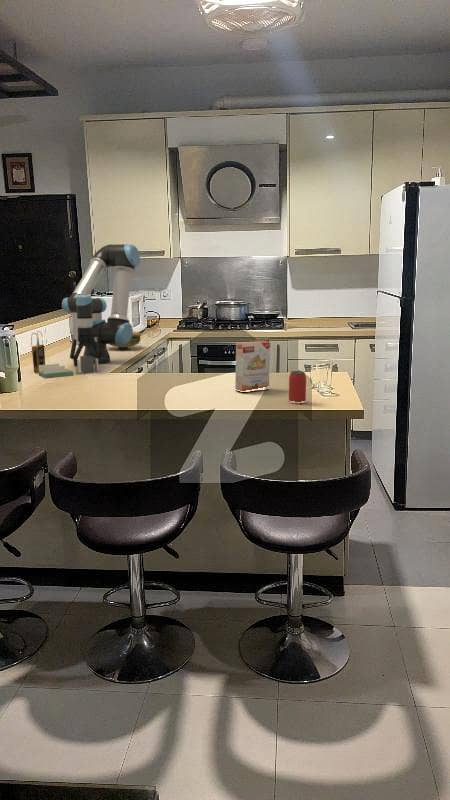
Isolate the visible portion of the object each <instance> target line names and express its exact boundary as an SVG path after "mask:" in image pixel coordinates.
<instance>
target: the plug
mask: <svg viewBox="0 0 450 800" xmlns="http://www.w3.org/2000/svg"><path fill="white" fill-rule="evenodd" d="M79 365H80V373H83V374H92V373H95V364H94V358H93V356H90V355H89V356H83V355H79Z"/></svg>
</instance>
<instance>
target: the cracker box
mask: <svg viewBox="0 0 450 800" xmlns="http://www.w3.org/2000/svg"><path fill="white" fill-rule="evenodd" d="M270 356H271V342H269V341H266V340H259V341H243V342H240V341H239V342H236V343H235V389H237V390H240V391H246V390H252V389H258V388H263V387H267V386H269V387H270V363H271V362H270V361H271V360H270V359H271V358H270ZM235 389H234V390H235Z"/></svg>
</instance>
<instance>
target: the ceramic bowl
mask: <svg viewBox="0 0 450 800" xmlns="http://www.w3.org/2000/svg"><path fill="white" fill-rule="evenodd" d="M142 335H143V333H141V332H134V331H133V334H132V338H131V340H130V341H129V342H128V343H127V344H124V345H117V344H108V345H110V346H112V347H115V348H116V350H117V349H120V350H119V351H127V349H129V350H130V348H131V347H134V346H137V345H138V344H139V343H140V342H141V336H142Z"/></svg>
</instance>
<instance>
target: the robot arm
mask: <svg viewBox="0 0 450 800" xmlns="http://www.w3.org/2000/svg"><path fill="white" fill-rule="evenodd" d="M140 262H141V256H140V252H139V250H138V248H137V246H136V245H134V244H128V243H124V244H123V243H122V244H121V243H119V244H117V243H116V244H113V243H112V244H106V245H104V246H102V247H101V248H99V249H98V250H97V251H96V252H95V253H94V254H93V256H92V257H91V259H90V260H89V265H88V267H87V269H86V270H85V273H84V274H83V276H82V277H81V279H80V281H79V282H78V284H77V285H76V287H75V289H74V290H73V292H72V294H71V295H70V296H68V297H65V298H63V299H62V302H61V309H62V310H63V311H64V312H65V313H69V314H72V313H77V326H78V338H77V339H74V338H72V339H71V347H70V348H71V350H70V353H69V359H71V360H73V366H74V367H75V373H77V374H80V373H81V371H80V359H78V358H80V354H81V352H82V350H83V348H84V351H83V355H82V356H89V355H90V356H93V358H94V372H95V371H96V372H99V371H100V370H99V365H104V364H109V363H111V356H110V353H109V352H108V347H107V345H109V344H117V345H124V344H127V343H128V342H129V341H130V340H131V338H132V334H133V332H134V330H133V329H134V328H133V326H132V324H131V323H130V319H129V318H128V309H129V299H130V290H131V281H132V280H131V279H132V274H133V273H134V272H135V268H136V267H138V266H139V264H140ZM110 267H112V269H113V270H114V282H113V289H112V290H113V291H112V301H111V309H110V316H108V317H107V319H103V318H102V320H95V321H93V316H92V314H95V313H104V312H105V311H106V310H107V301H106V300H105V299H103V298H102V297H101V298H100V297H93V298H92V295H91V292H92V291H93V289H94V287H95V286H96V284H97V283H98V280H99V279H100V277H101V276H102V274H103V272H105V271H106V270H107V269H108V268H110ZM106 320H107V321H106ZM77 341H79V345H78V346H76V343H77Z"/></svg>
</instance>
